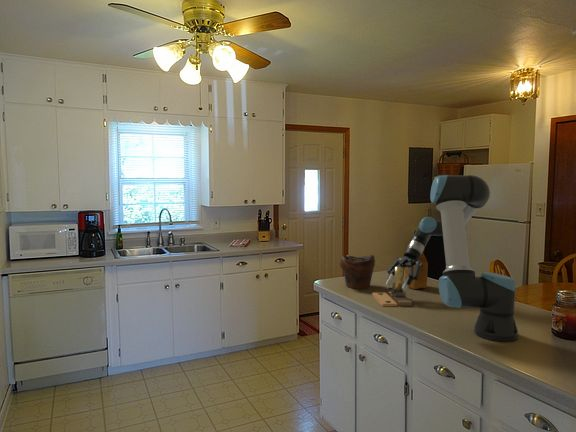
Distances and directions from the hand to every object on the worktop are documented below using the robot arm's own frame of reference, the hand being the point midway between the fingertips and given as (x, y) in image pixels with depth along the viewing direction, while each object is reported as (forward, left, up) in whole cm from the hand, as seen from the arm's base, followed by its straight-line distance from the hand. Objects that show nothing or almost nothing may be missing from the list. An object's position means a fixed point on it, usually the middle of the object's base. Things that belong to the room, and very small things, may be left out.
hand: (395, 287), depth 207 cm
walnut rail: (+1, -2, -7) cm, 7 cm away
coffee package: (+27, -19, -7) cm, 34 cm away
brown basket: (+29, +13, -7) cm, 32 cm away
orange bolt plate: (+1, +5, -7) cm, 8 cm away
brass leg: (+2, -1, -4) cm, 5 cm away
